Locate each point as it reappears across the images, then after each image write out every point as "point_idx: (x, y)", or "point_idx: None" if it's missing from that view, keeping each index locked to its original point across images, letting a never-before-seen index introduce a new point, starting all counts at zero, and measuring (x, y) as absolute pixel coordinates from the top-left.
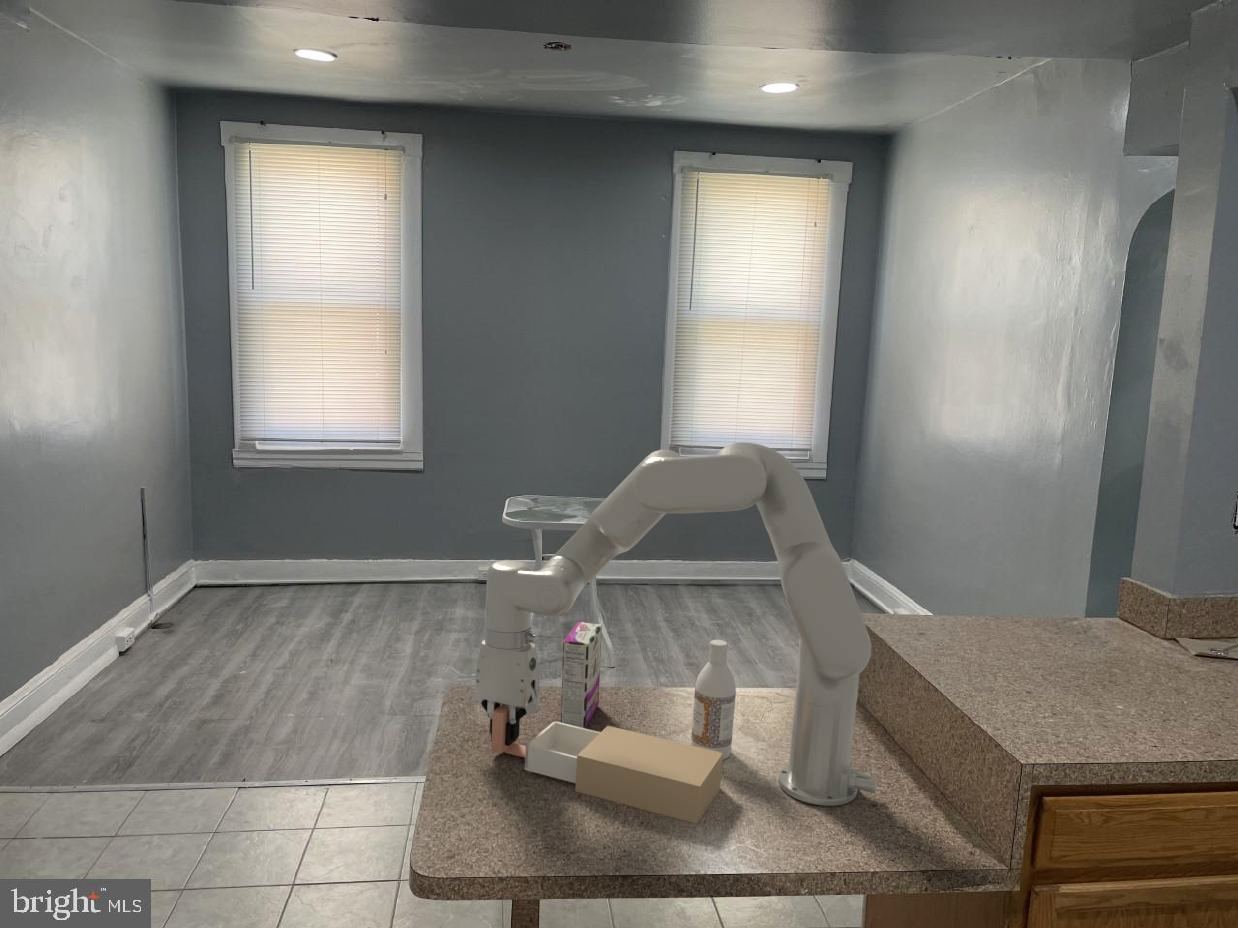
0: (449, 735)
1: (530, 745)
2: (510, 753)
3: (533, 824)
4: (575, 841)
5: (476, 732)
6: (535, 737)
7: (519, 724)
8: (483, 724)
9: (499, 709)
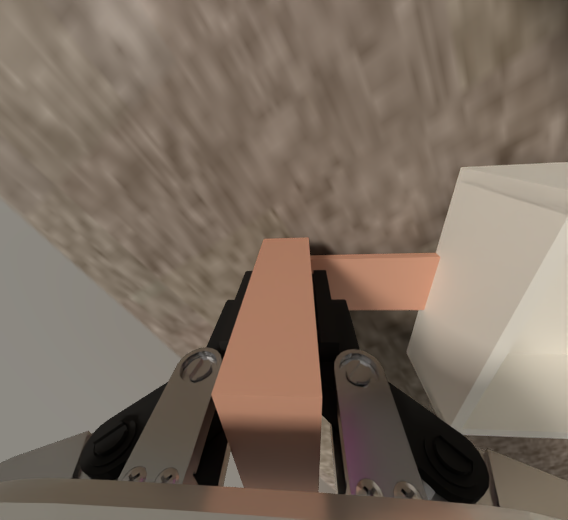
0: (88, 264)
1: (465, 430)
2: None
3: (472, 443)
4: (558, 453)
5: (123, 204)
6: (474, 390)
7: (355, 336)
8: (78, 123)
9: (264, 480)
